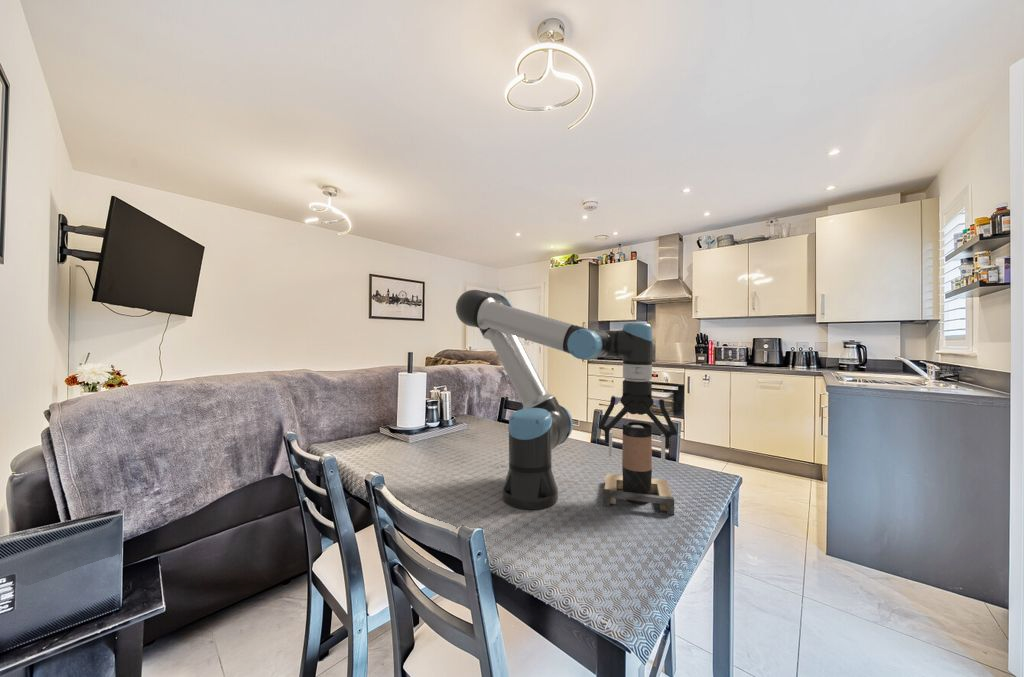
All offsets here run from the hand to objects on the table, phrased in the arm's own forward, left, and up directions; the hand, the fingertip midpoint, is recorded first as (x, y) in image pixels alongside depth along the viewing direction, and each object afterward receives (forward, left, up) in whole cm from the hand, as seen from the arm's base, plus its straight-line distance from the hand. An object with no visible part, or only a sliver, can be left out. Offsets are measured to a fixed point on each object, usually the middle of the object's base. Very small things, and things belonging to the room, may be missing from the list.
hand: (636, 457), depth 101 cm
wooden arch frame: (0, +1, -11) cm, 11 cm away
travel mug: (0, 0, -11) cm, 11 cm away
